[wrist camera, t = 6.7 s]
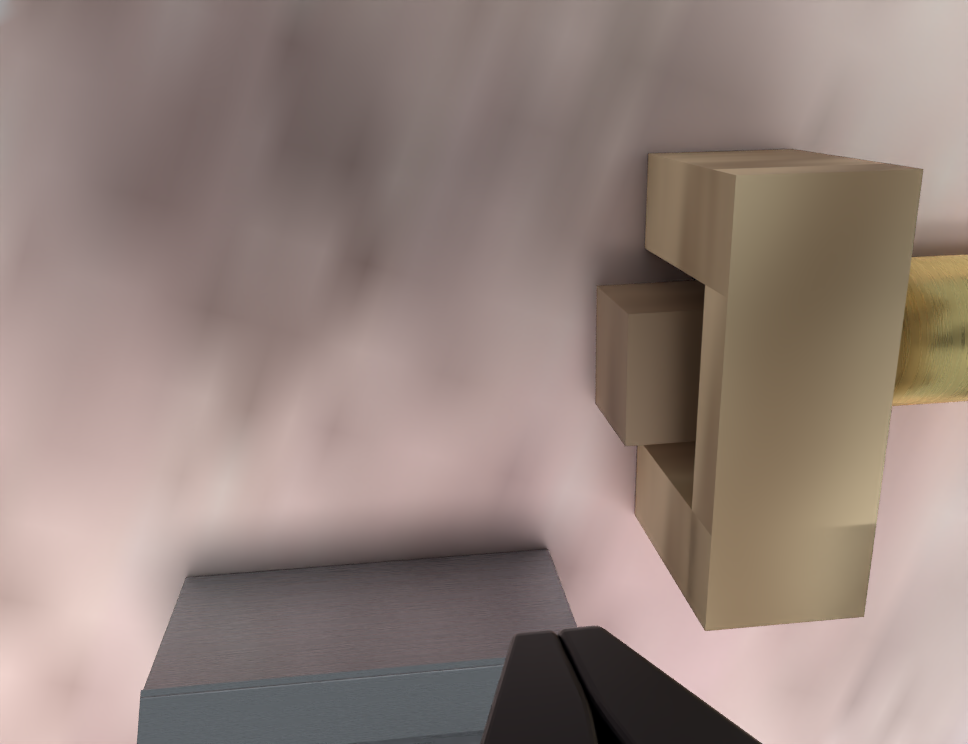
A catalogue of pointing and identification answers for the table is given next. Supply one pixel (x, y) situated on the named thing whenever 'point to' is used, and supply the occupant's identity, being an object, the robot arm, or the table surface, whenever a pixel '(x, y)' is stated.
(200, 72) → the table surface
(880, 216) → the bearing block
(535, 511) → the table surface
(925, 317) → the axle
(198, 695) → the v block
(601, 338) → the block
